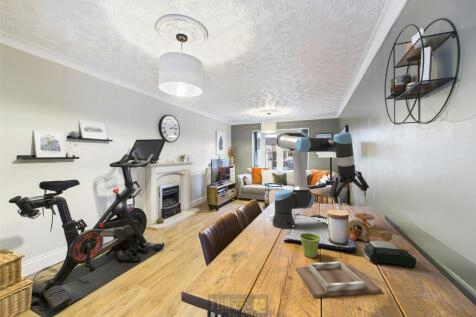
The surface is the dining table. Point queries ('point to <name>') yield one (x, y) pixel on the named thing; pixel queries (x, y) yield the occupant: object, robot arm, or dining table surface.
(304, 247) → the plant pot
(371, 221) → the lidded jar
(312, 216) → the smart home device
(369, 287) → the jig plate
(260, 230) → the dining table surface
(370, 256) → the miniature car
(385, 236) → the toy helicopter
